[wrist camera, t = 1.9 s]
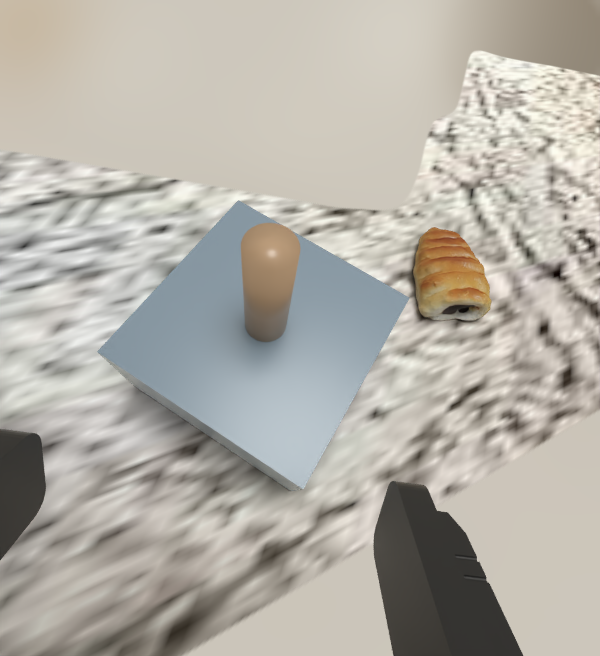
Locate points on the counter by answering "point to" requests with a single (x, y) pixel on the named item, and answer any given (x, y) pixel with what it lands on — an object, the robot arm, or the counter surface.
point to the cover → (258, 342)
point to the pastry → (449, 278)
